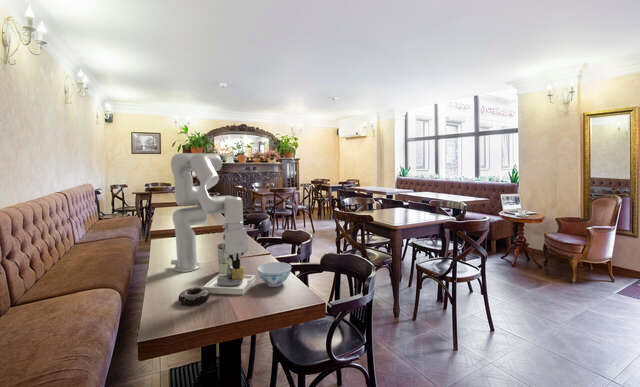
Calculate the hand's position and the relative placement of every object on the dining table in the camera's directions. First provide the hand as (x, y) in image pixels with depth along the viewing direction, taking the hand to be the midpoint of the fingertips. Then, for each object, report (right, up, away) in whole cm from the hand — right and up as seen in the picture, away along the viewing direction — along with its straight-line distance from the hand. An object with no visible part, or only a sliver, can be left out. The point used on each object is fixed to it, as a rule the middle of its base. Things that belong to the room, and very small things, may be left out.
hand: (236, 268), depth 140 cm
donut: (-15, -11, -9) cm, 20 cm away
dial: (-4, -7, +5) cm, 10 cm away
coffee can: (-10, -8, +24) cm, 27 cm away
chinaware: (+15, -9, +8) cm, 20 cm away
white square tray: (-4, -9, +5) cm, 11 cm away
